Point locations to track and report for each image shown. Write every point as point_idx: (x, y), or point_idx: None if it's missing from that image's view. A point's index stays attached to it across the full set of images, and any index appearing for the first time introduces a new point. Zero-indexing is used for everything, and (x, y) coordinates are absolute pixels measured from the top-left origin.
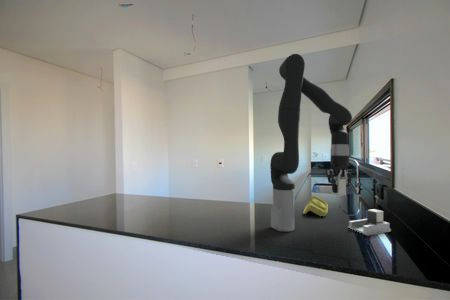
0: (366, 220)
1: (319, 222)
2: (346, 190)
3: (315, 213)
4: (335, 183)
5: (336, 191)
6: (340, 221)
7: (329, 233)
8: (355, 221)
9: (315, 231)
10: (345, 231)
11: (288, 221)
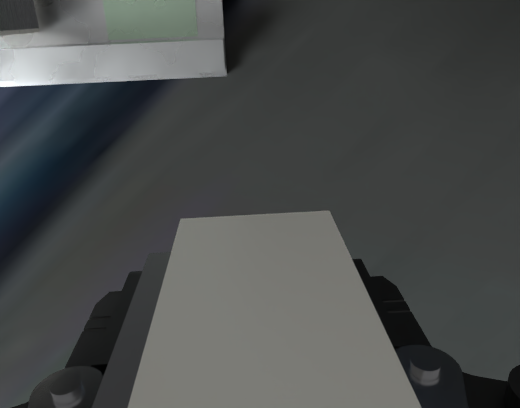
0: (25, 47)
1: None
2: (147, 260)
3: None
4: (455, 368)
5: (363, 269)
6: (143, 230)
7: (451, 34)
8: (171, 44)
9: (507, 104)
10: (298, 29)
11: None
